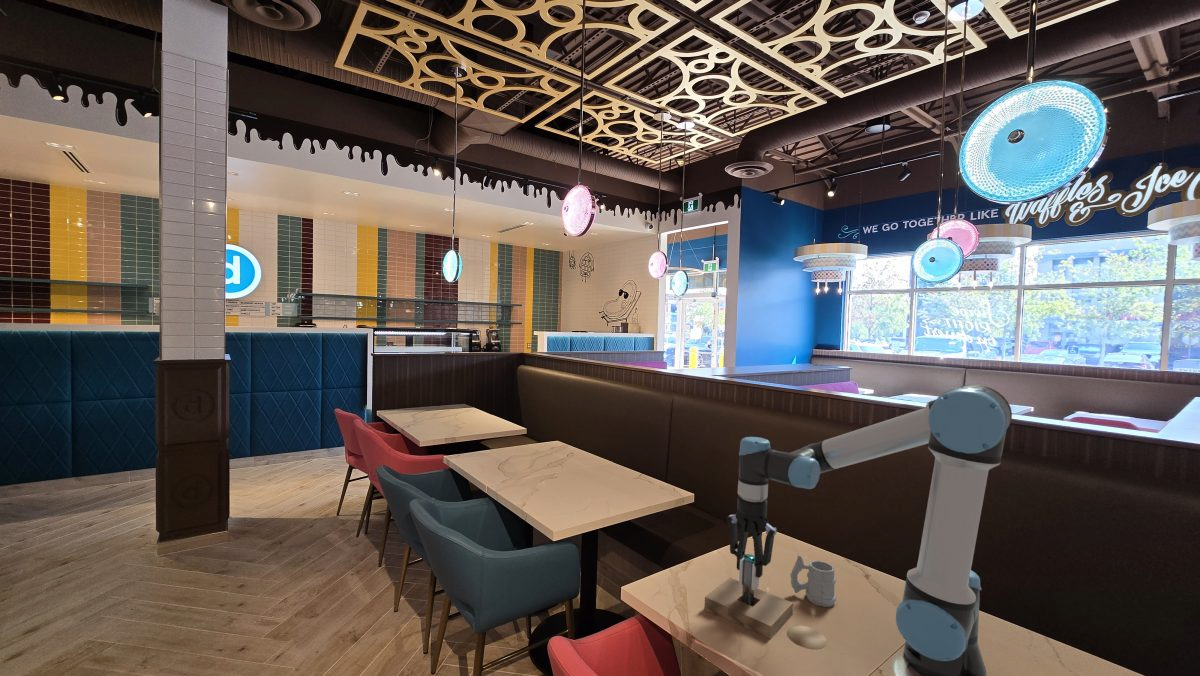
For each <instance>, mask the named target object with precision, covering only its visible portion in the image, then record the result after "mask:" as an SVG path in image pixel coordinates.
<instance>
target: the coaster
mask: <svg viewBox="0 0 1200 676" xmlns="http://www.w3.org/2000/svg"><path fill="white" fill-rule="evenodd" d="M786 635H787V638H788V639H789V640H791V642H792V643H794V644H796V645H797V646H800V647H802V648H805V649H808V650H822V649H823V648H825V647H826V646H827V644H828V642H827V639H826V637H825V635H823V633H821V632H820V631H818V630H817V629H814V628H812V627H809V626H806V625H805V626H804V625H792V626H790V627H788V628H787V629H786Z"/></svg>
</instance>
